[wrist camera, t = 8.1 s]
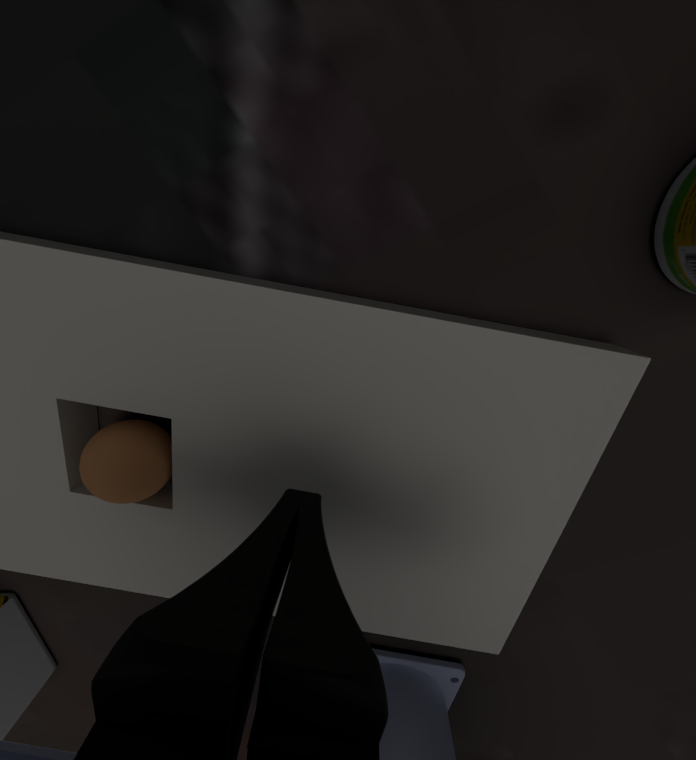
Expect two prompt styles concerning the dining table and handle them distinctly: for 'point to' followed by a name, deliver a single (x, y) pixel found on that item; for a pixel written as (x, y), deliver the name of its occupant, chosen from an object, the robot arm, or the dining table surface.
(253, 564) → the robot arm
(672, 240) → the supplement bottle
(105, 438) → the ball
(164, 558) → the white flat board
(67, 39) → the dining table surface
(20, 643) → the medicine bottle
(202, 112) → the dining table surface
